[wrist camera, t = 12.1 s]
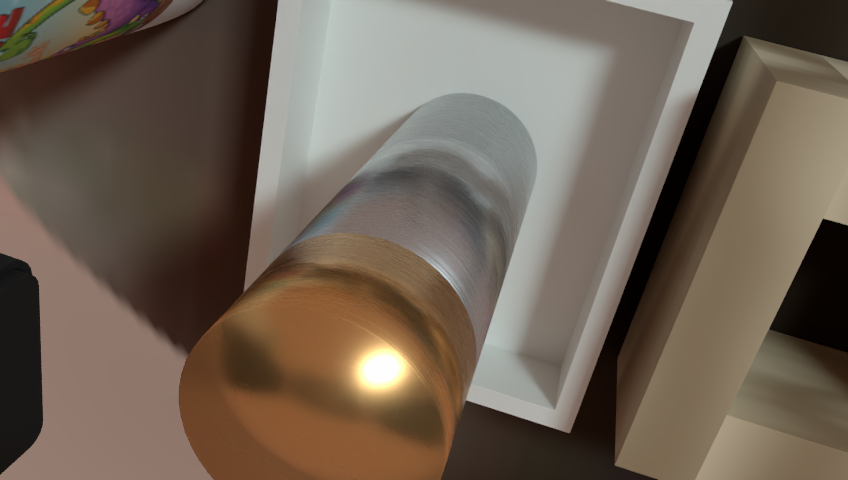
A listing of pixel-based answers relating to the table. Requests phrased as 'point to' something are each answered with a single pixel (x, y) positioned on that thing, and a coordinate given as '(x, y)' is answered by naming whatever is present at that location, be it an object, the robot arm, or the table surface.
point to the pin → (370, 312)
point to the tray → (547, 125)
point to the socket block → (743, 289)
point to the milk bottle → (74, 25)
